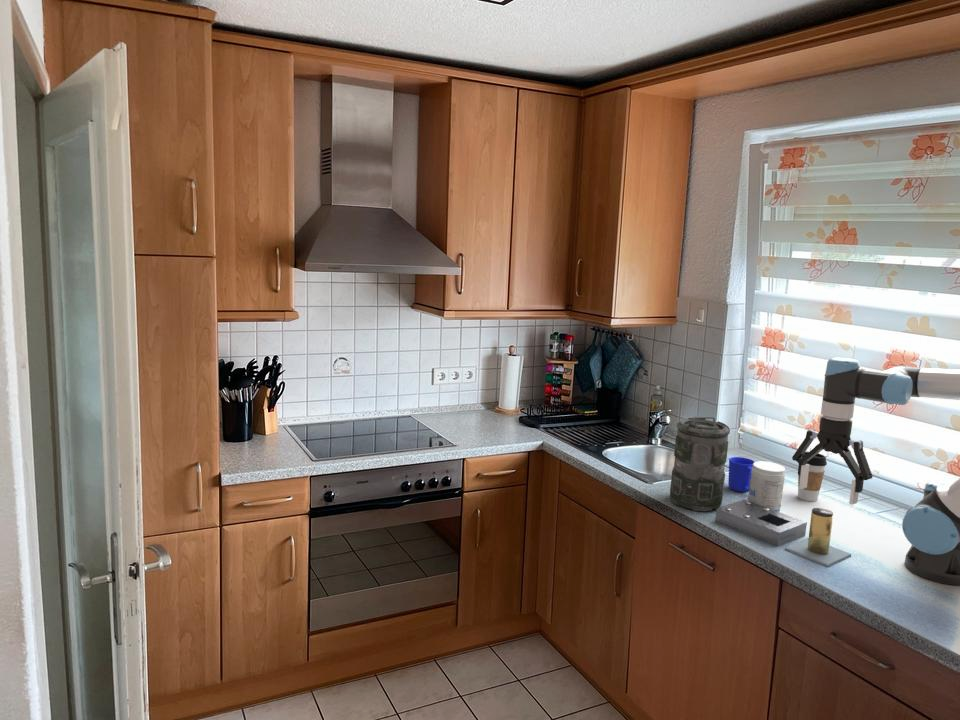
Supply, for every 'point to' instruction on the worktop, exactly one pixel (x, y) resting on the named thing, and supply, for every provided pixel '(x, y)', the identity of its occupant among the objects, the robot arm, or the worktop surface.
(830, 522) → the cylinder
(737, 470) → the mug
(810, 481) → the coffee cup
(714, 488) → the canister
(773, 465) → the supplement tub
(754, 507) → the housing
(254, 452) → the worktop surface
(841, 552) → the mat
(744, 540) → the worktop surface
